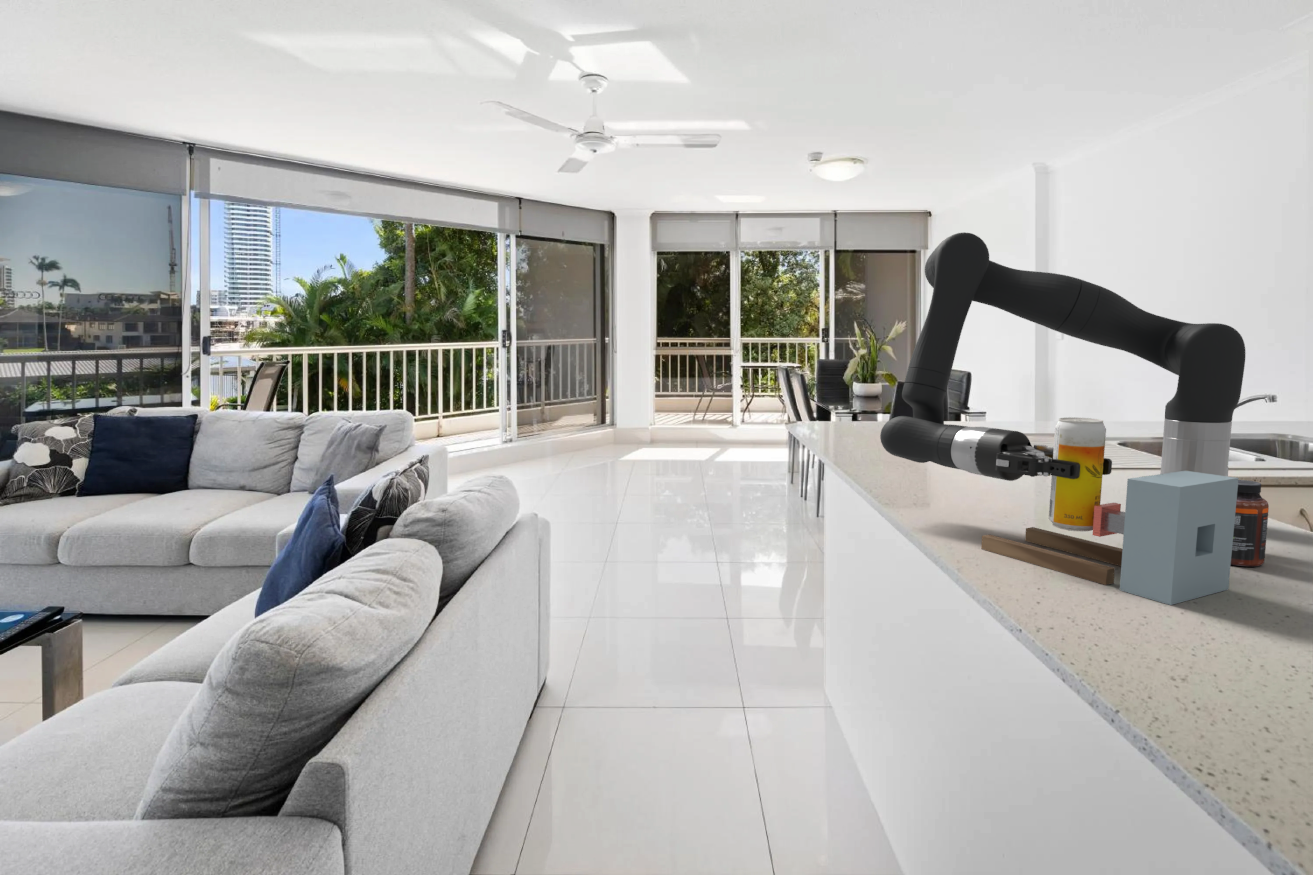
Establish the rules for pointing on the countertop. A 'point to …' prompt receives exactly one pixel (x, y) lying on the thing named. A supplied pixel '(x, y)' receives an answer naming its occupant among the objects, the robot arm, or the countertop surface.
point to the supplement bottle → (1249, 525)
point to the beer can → (1080, 495)
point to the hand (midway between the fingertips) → (1094, 469)
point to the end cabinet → (1178, 535)
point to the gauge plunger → (1108, 519)
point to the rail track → (1059, 554)
